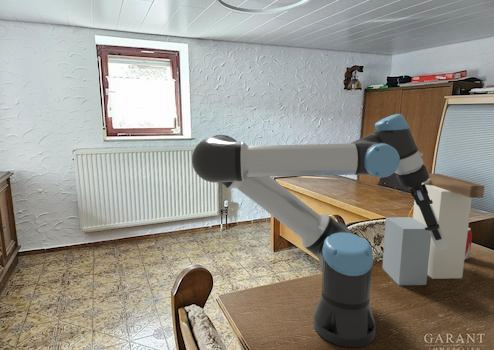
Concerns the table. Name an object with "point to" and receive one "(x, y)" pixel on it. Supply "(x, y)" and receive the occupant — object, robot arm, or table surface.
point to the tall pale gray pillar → (406, 250)
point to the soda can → (468, 244)
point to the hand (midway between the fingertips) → (438, 236)
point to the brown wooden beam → (456, 185)
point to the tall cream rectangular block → (447, 232)
